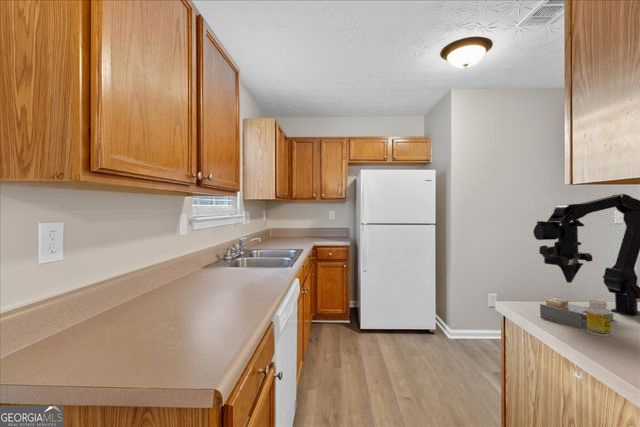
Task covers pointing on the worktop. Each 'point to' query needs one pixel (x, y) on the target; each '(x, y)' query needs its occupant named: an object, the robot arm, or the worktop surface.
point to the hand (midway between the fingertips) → (569, 282)
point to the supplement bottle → (598, 318)
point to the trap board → (567, 315)
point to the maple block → (557, 303)
